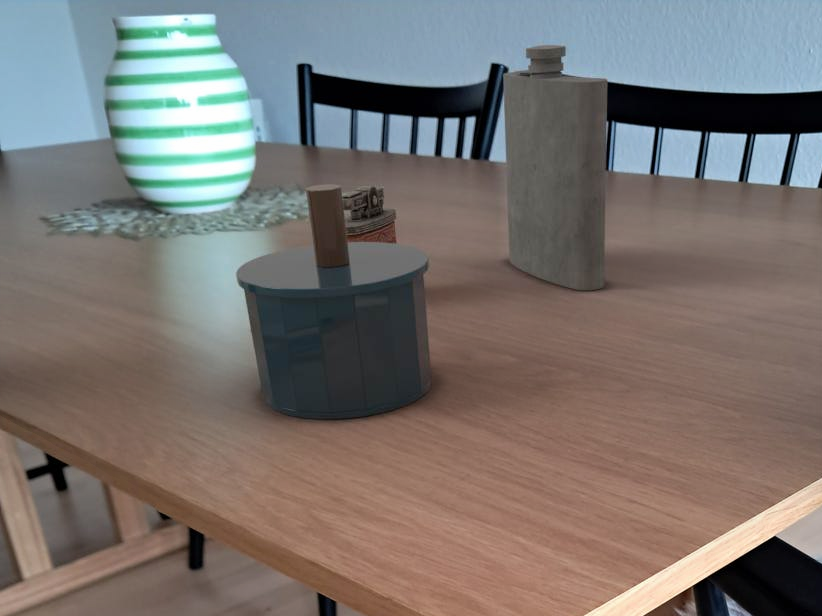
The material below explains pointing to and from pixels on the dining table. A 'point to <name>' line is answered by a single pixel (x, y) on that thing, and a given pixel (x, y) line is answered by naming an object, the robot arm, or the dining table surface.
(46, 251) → the dining table surface
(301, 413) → the pot
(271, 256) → the pot lid
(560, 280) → the hip flask
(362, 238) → the lighter
